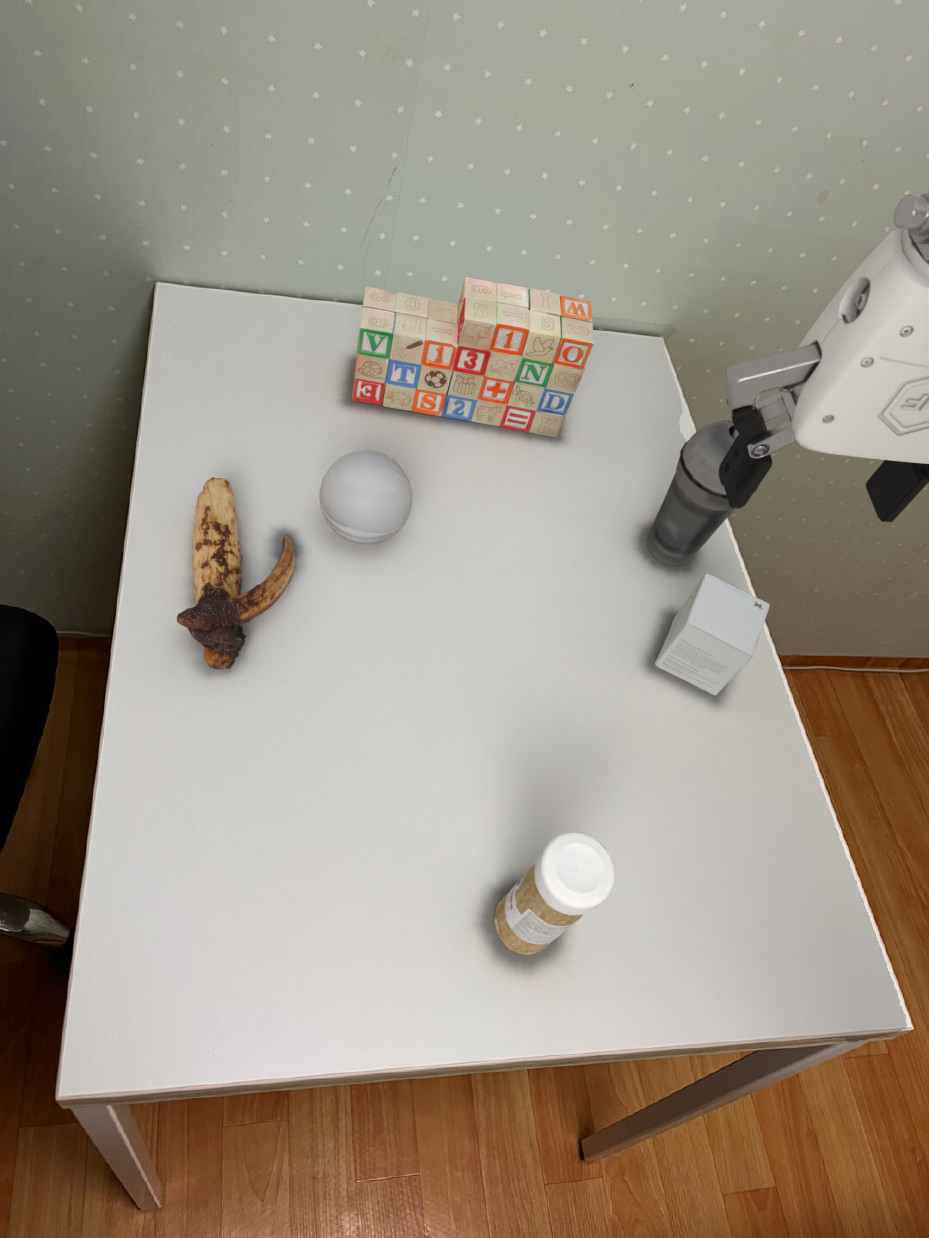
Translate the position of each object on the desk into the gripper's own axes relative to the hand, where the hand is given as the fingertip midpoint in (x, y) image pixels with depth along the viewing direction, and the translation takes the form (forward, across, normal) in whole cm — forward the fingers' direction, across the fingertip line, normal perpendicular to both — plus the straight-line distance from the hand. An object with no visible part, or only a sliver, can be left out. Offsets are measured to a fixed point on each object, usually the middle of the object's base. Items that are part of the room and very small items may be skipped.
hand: (804, 497), depth 52 cm
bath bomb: (+26, -24, +17) cm, 40 cm away
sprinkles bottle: (+27, -12, -18) cm, 35 cm away
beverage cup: (+26, +5, +17) cm, 32 cm away
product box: (+26, +5, +5) cm, 27 cm away
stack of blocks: (+26, -15, +34) cm, 45 cm away
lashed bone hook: (+26, -34, +10) cm, 44 cm away
